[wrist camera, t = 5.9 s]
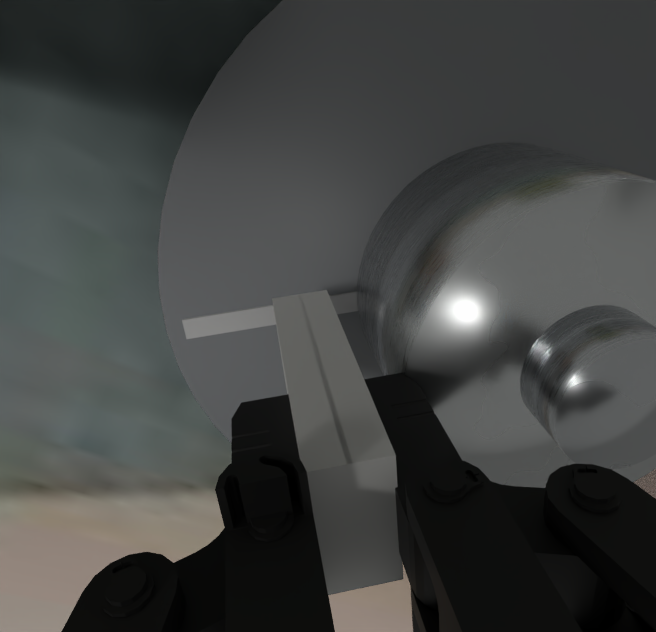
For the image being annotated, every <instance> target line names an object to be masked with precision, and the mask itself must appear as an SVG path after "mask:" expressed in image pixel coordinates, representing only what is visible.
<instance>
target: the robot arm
mask: <svg viewBox="0 0 656 632" xmlns="http://www.w3.org/2000/svg"><path fill="white" fill-rule="evenodd" d="M272 301H273V308H274V314H275V320H276V326H277V333H278V339H279V345H280V351H281V358H282V364H283V370H284V376H285V383H286V389H287V395H281V396H276V397H270V398H264V399H259V400H253V401H247V402H242V403H241V404H240V406H239V407H238V409H237V411H236V412H235V414H234V416H233V417H232V419H231V427H232V463H231V464H230V465H228V467H227V468H226V469H225V470H224V471H223V473H222V474H221V475H220V476H219V478H218V482H217V485H216V488H215V490H216V494H217V498H218V502H219V506H220V510H221V514H222V518H223V522H224V526H225V528H224V530H223V531H222V532H221V533H220V535H219V536H218V537H217V538H216V539H214V540H213V541H212V542H211V543H210V544H209V545H207V546H206V547H204V548H202V549H201V550H199V551H197V552H195V553H193V554H191V555H189V556H187V557H185V558H183V559H181V560H179V561H177V562H175V563H173V562H171V561H170V560H169V559H167V558H166V557H165V556H163V555H161V554H156V553H150V552H143V553H137V554H131V555H127V556H125V557H123V558H121V559H119V560H117V561H114V562H112V563H110V564H109V565H108V566H107V567H105V568H104V569H103V570H102V571H100V572H99V573H98V574H97V575H95V576H94V577H93V579H92V580H91V582H90V583H89V584H88V586H87V587H86V588H85V590H84V591H83V592H82V594H81V596H80V598H79V600H78V602H77V604H76V606H75V607H74V609H73V611H72V613H71V615H70V617H69V619H68V621H67V623H66V624H65V626H64V628H63V630H62V632H335V630H334V625H333V619H332V614H331V608H330V603H329V597H328V595H331V594H335V593H340V592H345V591H349V590H354V589H359V588H364V587H369V586H373V585H378V584H383V583H387V582H392V581H396V580H401V579H403V566H402V562H403V565H404V568H405V570H406V573H407V576H408V579H409V582H410V585H411V602H412V621H413V632H656V499H655V498H654V497H652V496H651V495H649V494H648V493H647V492H645V491H644V490H643V489H641V488H640V487H639V486H637V485H636V484H634V483H633V482H632V481H630V480H629V479H628V478H626V477H624V476H622V475H620V474H619V473H617V472H615V471H613V470H611V469H608V468H604V467H601V466H597V465H594V464H571V465H567V466H563V467H560V468H558V469H557V470H556V471H554V472H553V473H551V474H550V476H549V478H548V481H547V483H546V487H545V488H538V487H520V486H509V485H502V484H498V483H495V482H492V481H490V480H489V478H488V477H487V476H486V475H485V474H484V473H483V472H482V471H481V470H480V469H479V468H478V467H476V466H474V465H472V464H470V463H468V462H466V461H462V459H461V457H460V456H459V454H458V452H457V450H456V449H455V447H454V445H453V443H452V442H451V440H450V438H449V437H448V435H447V433H446V431H445V430H444V428H443V426H442V424H441V423H440V421H439V419H438V417H437V416H436V414H434V410H433V409H432V407H431V405H430V404H429V402H427V398H426V397H425V395H424V393H423V391H422V390H421V388H420V386H419V384H418V383H416V382H415V381H413V380H412V379H410V378H409V377H407V376H406V375H404V374H403V373H397V374H391V375H385V376H380V377H374V378H368V379H364V378H363V376H362V373H361V371H360V368H359V366H358V364H357V361H356V359H355V356H354V354H353V352H352V349H351V347H350V344H349V342H348V340H347V337H346V335H345V332H344V330H343V328H342V325H341V323H340V321H339V318H338V316H337V313H336V311H335V309H334V306H333V304H332V301H331V299H330V297H329V294H328V292H327V290H323V291H317V292H311V293H304V294H298V295H292V296H285V297H279V298H273V299H272Z"/></svg>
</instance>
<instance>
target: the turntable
mask: <svg viewBox="0 0 656 632" xmlns="http://www.w3.org/2000/svg"><path fill="white" fill-rule="evenodd" d="M510 142H515V143H526V144H533V145H537V146H541V147H545V148H549V149H553V150H556V151H559V152H562V153H566V154H569V155H572V156H576V157H579V158H582V159H586V160H589V161H592V162H596V163H599V164H602V165H606V166H609V167H612V168H615V169H619V170H622V171H625V172H629V173H632V174H635V175H639V176H642V177H645V178H649V179H652V180H655V181H656V0H282V1H281V2H280V3H279V4H278V5H277V6H276V7H275V8H274V9H273V10H272V11H271V12H270V13H269V14H268V15H267V16H266V17H265V18H264V19H263V20H262V21H261V22H260V23H259V24H257V25H256V26H255V27H254V28H253V29H252V30H251V31H250V32H249V33H248V34H247V35H246V37H245V38H244V39H243V41H242V42H241V43H240V44H239V46H238V47H237V48H236V50H235V51H234V52H233V53H232V55H231V56H230V57H229V59H228V60H227V61H226V62H225V64H224V65H223V66H222V68H221V69H220V70H219V71H218V73H217V75H216V77H215V78H214V80H213V82H212V83H211V85H210V87H209V89H208V90H207V92H206V94H205V96H204V97H203V99H202V101H201V103H200V104H199V106H198V108H197V109H196V111H195V113H194V115H193V117H192V119H191V121H190V123H189V126H188V128H187V131H186V133H185V136H184V138H183V141H182V143H181V146H180V148H179V151H178V153H177V156H176V158H175V161H174V163H173V167H172V171H171V175H170V179H169V183H168V187H167V191H166V195H165V199H164V203H163V207H162V215H161V224H160V234H159V243H158V274H159V294H160V300H161V305H162V310H163V316H164V321H165V327H166V332H167V335H168V338H169V341H170V343H171V346H172V349H173V352H174V355H175V358H176V361H177V364H178V367H179V369H180V371H181V373H182V374H183V376H184V378H185V380H186V382H187V384H188V386H189V388H190V390H191V392H192V394H193V396H194V398H195V399H196V401H197V402H198V403H199V405H200V406H201V408H202V409H203V410H204V412H205V413H206V414H207V416H208V417H209V419H210V420H211V421H212V423H213V424H214V426H215V427H216V428H217V429H218V430H219V431H220V432H221V433H222V434H223V435H224V436H225V437H226V438H227V439H228V440H229V441H230V442H231V443H232V427H231V419H232V417H233V416H234V414H235V412H236V411H237V409H238V407H239V406H240V404H241V403H242V402H247V401H253V400H259V399H264V398H270V397H276V396H281V395H287V389H286V383H285V376H284V370H283V364H282V358H281V351H280V345H279V339H278V333H277V326H276V320H275V314H274V308H273V301H272V299H273V298H279V297H285V296H292V295H298V294H304V293H311V292H317V291H323V290H327V292H328V294H329V297H330V299H331V301H332V304H333V306H334V309H335V311H336V313H337V316H338V318H339V321H340V323H341V325H342V328H343V330H344V332H345V335H346V337H347V340H348V342H349V344H350V347H351V349H352V352H353V354H354V356H355V359H356V361H357V364H358V366H359V368H360V371H361V373H362V376H363V378H364V379H368V378H374V377H380V376H384V375H383V373H382V371H381V369H380V367H379V365H378V362H377V360H376V358H375V356H374V354H373V352H372V350H371V348H370V346H369V344H368V341H367V339H366V337H365V335H364V333H363V329H362V326H361V323H360V320H359V314H358V307H357V281H358V273H359V267H360V264H361V260H362V256H363V253H364V250H365V247H366V245H367V242H368V240H369V238H370V235H371V233H372V231H373V229H374V228H375V226H376V224H377V222H378V221H379V219H380V217H381V216H382V214H383V213H384V212H385V210H386V209H387V208H388V206H389V205H390V204H391V202H392V201H393V200H394V199H395V198H396V197H397V196H398V194H399V193H400V192H401V191H402V190H403V189H404V188H405V187H406V186H407V185H408V184H410V183H411V182H412V181H413V180H414V179H416V178H417V177H418V176H419V175H420V174H422V173H423V172H424V171H426V170H428V169H429V168H431V167H432V166H434V165H435V164H437V163H438V162H440V161H442V160H444V159H446V158H448V157H451V156H453V155H455V154H457V153H460V152H463V151H465V150H468V149H471V148H474V147H478V146H484V145H489V144H494V143H510Z"/></svg>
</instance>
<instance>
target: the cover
mask: <svg viewBox="0 0 656 632" xmlns="http://www.w3.org/2000/svg"><path fill="white" fill-rule="evenodd" d="M357 307H358V314H359V320H360V323H361V326H362V329H363V333H364V335H365V337H366V339H367V341H368V344H369V346H370V348H371V350H372V352H373V354H374V356H375V358H376V360H377V362H378V365H379V367H380V369H381V371H382V373H383V375H384V376H385V375H391V374H397V373H403V374H404V375H406V376H407V377H409V378H410V379H412V380H413V381H415V382H416V383H418V384H419V386H420V388H421V390H422V391H423V393H424V395H425V397H426V398H427V402H429V404H430V405H431V407H432V409H433V410H434V414H436V416H437V417H438V419H439V421H440V423H441V424H442V426H443V428H444V430H445V431H446V433H447V435H448V437H449V438H450V440H451V442H452V443H453V445H454V447H455V449H456V450H457V452H458V454H459V456H460V457H461V459H462V461H466V462H468V463H470V464H472V465H474V466H476V467H478V468H479V469H480V470H481V471H482V472H483V473H484V474H485V475H486V476H487V477H488V478H489V480H490V481H492V482H495V483H498V484H502V485H509V486H520V487H538V488H545V487H546V483H547V481H548V478H549V476H550V474H551V473H553V472H554V471H556V470H557V469H558V468H560V467H563V466H567V465H571V464H594V465H597V466H601V467H604V468H608V469H611V470H613V471H615V472H617V473H619V474H620V475H622V476H624V477H626V478H628V479H629V480H630V481H632V482H634V481H636V480H638V479H640V478H641V477H643V476H645V475H647V474H648V473H650V472H651V471H653V470H654V469H656V181H655V180H652V179H649V178H645V177H642V176H639V175H635V174H632V173H629V172H625V171H622V170H619V169H615V168H612V167H609V166H606V165H602V164H599V163H596V162H592V161H589V160H586V159H582V158H579V157H576V156H572V155H569V154H566V153H562V152H559V151H556V150H553V149H549V148H545V147H541V146H537V145H533V144H526V143H515V142H510V143H494V144H489V145H484V146H478V147H474V148H471V149H468V150H465V151H463V152H460V153H457V154H455V155H453V156H451V157H448V158H446V159H444V160H442V161H440V162H438V163H437V164H435V165H434V166H432V167H431V168H429V169H428V170H426V171H424V172H423V173H422V174H420V175H419V176H418V177H417V178H416V179H414V180H413V181H412V182H411V183H410V184H408V185H407V186H406V187H405V188H404V189H403V190H402V191H401V192H400V193H399V194H398V196H397V197H396V198H395V199H394V200H393V201H392V202H391V204H390V205H389V206H388V208H387V209H386V210H385V212H384V213H383V214H382V216H381V217H380V219H379V221H378V222H377V224H376V226H375V228H374V229H373V231H372V233H371V235H370V238H369V240H368V242H367V245H366V247H365V250H364V253H363V256H362V260H361V264H360V267H359V273H358V281H357Z"/></svg>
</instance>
